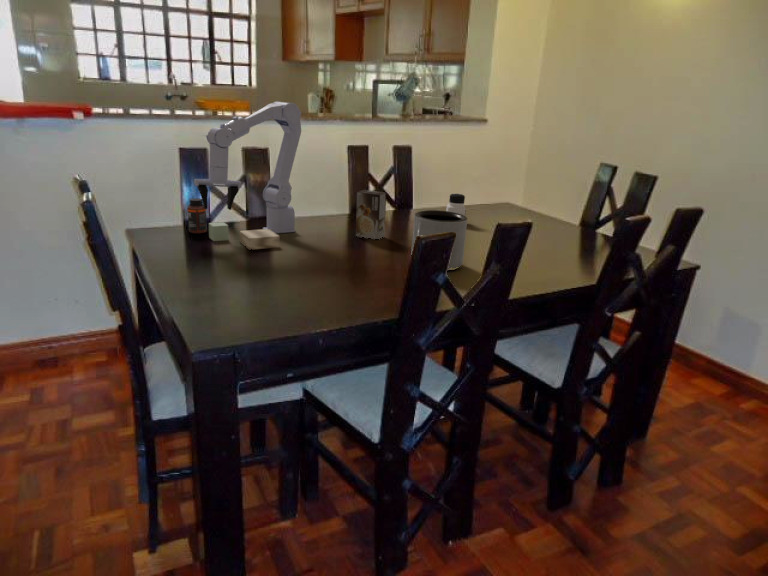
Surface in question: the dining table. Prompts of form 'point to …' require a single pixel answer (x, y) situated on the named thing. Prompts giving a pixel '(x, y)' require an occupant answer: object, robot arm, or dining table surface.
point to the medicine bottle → (456, 204)
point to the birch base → (259, 239)
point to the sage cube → (218, 231)
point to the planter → (442, 230)
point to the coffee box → (370, 214)
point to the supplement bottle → (197, 216)
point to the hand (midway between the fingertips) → (217, 208)
